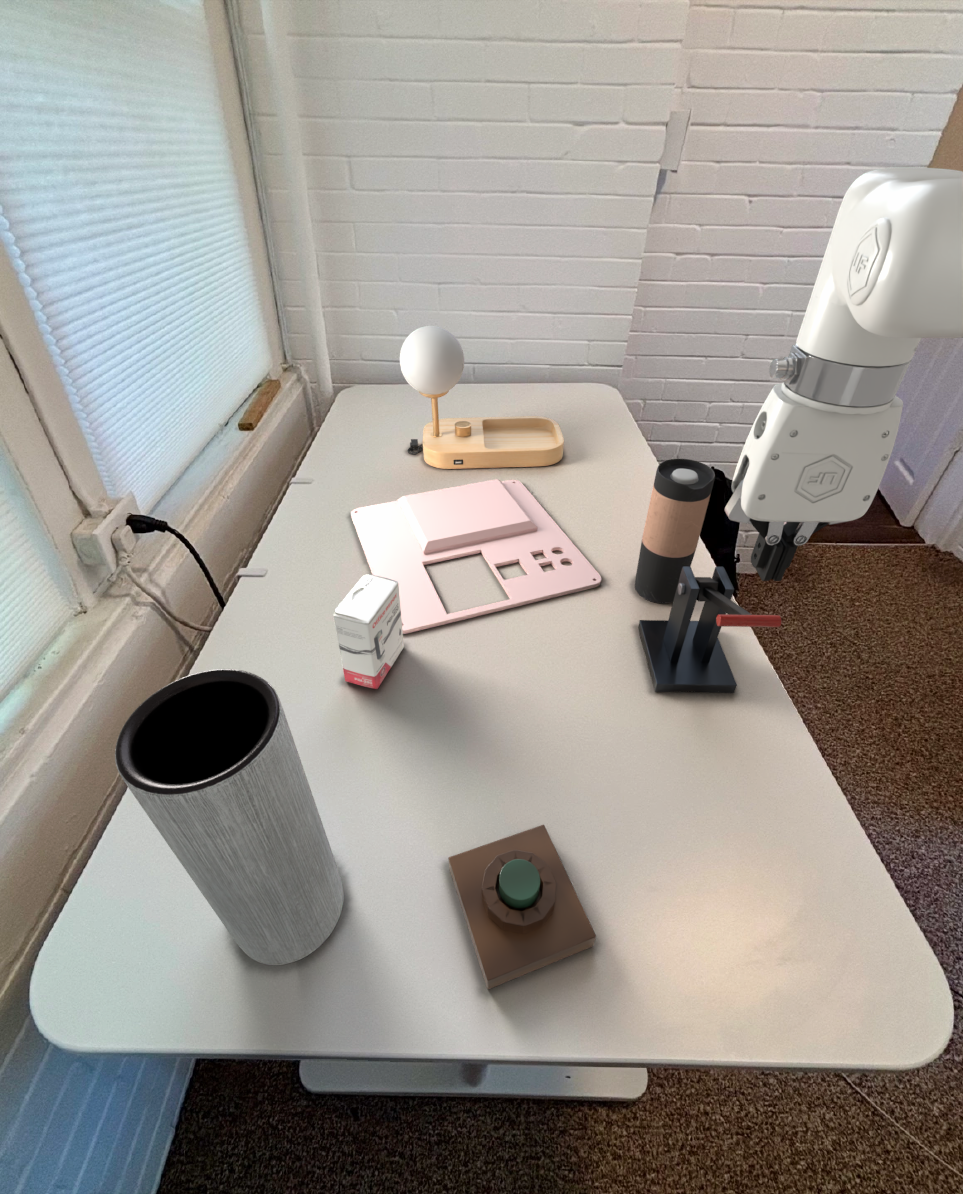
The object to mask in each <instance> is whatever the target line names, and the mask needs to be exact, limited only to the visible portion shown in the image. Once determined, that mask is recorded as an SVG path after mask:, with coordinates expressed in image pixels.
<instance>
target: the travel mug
mask: <svg viewBox="0 0 963 1194" xmlns="http://www.w3.org/2000/svg"><path fill="white" fill-rule="evenodd" d="M658 464H659V465H658V466H657V467H656V472H655V476H654V481H653V486H652V490H651V493H650V494H651V495H650V500H649V504H648V507H647V508H648V509H647V513H646V518H645V523H644V527H643V533H642V535H641V543H640V548H639V549H640V550H639V553H638V560H637V567H636V572H635V573H636V574H635V578H634V579H635V580H634V588H635V592H636V593H637V594H638V595H639V596H640V597H641V598H643V599H644V600H645V601H648V602H652V603H655V604H671V603H673V601H674V597H675V593H676V589H677V586H678V582H679V578H680V574H681V571H682V567H683V566H685V567H691V568H692V564H693V561H694V557H695V554H696V552H697V548H698V543H699V540H700V536H701V532H702V528H703V525H704V521H705V518H706V514H707V509H708V506H709V502H710V498H711V496H712V495H711V494H712V490H713V487H714V483H715V479H716V474H715V471H714V469H713V468H712V467H710V466H709V465H708V464H706V463H703V462H700V461H698V460H694V459H688V458H671V459H667V460H664V461H662V462H660V463H658Z"/></svg>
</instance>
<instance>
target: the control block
mask: <svg viewBox="0 0 963 1194" xmlns="http://www.w3.org/2000/svg"><path fill="white" fill-rule="evenodd" d="M515 859H523V860H526V861H528V862H530V863H532V864H533V865H534V866H535V867H536V869H537V870H538V872H539V875H540V889H539V895H538V897H537V899H536V901H535V902H534V903H533V904H532V905H531V906H529V907H526V908H522V909H519V908H514V907H511V906H509V905H508V904H507V903H506V902H505V901H504V900H503V899H502V897H501V895H500V892H499V875H500V872H501V870H502V868H503V866H504V865H505V864H506V863H508V862H509V861H512V860H515ZM448 869H449V872H450V875H451V879H452V882H453V885H454V889H455V891H456V894H457V897H458V901H459V904H460V907H461V910H462V914H463V916H464V920H465V924H466V926H467V929H468V933H469V936H470V939H471V942H472V946H473V948H474V951H475V955H476V958H477V961H478V965H479V967H480V971H481V974H482V977H483V980H484V983H485V986H486V989H487V990H491V989H493V988H495V987H498V986H500V985H502V984H505V983H508V982H509V981H512V980H515V979H517V978H519V977H522V976H525V975H526V974H530V973H532V972H535V971H536V970H539V969H541V968H544V967H546V966H549V965H551V964H553V963H556V962H559V961H561V960H564V959H566V958H568V957H570V956H573V955H576V954H578V953H580V952H583V951H585V950H587V949H590V948H593V947H594V945H595V941H596V938H597V935H596V933H595V931H594V929H593V927H592V924H591V922H590V919H589V918H588V916H587V914H586V911H585V909H584V907H583V905H582V903H581V901H580V898H579V896H578V895H577V892H576V890H575V888H574V885H573V884H572V881H571V879H570V876H569V874H568V873H567V871H566V868H565V867H564V864H563V862H562V859H561V858H560V856H559V853H558V851H557V849H556V847H555V844H554V842H553V841H552V838H551V836H550V834H549V832H548V830H547V828H546V826H545V824H541V825H538V826H535V827H532V828H529V829H527V830H523V831H521V832H518V833H515V834H513V835H508V836H507V837H503V838H501V839H497V840H494V841H491V842H489V843H486V844H483V845H480V846H477V847H474V848H471V849H469V850H466V851H463V852H460V853H457V854H453V855H452V856H451V855H450V856H449V857H448Z"/></svg>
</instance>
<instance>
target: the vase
mask: <svg viewBox="0 0 963 1194" xmlns="http://www.w3.org/2000/svg"><path fill="white" fill-rule="evenodd" d="M114 751H115V752H114V761H115V767H116V769H117V772H118V774H119V775H120V778H121V779H122V781H123V782H124V784H125V785H126V786H127V788H128V789H129V791H130V792H131V794H132V795H133V796H134V798H135V799H136V801H137V802H138V804H139V805H140V807H141V808H142V809H143V811H144V812H145V814H146V816H147V817H148V818H149V820H150V821H151V822H152V824H153V826H154V827H155V828H156V830H157V831H158V832H159V834H160V835H161V837H162V838H163V839H164V841H165V843H166V844H167V845H168V847H169V849H170V850H171V851H172V852H173V854H174V856H175V857H176V858H177V860H178V861H179V863H180V864H181V866H182V867H183V869H184V870H185V872H186V873H187V874H188V876H189V877H190V878H191V880H192V881H193V883H194V884H195V885H196V887H197V889H198V890H199V891H200V894H201V895H203V897H204V899H205V900H206V901H207V903H208V904H209V906H210V907H211V909H212V910H213V912H214V913H215V914H216V916H217V917H218V919H219V920H220V922H221V923H222V924H223V926H224V927H225V929H226V930H227V932H228V933H229V934H230V936H231V937H232V939H233V941H234V942H235V943H236V944H237V946H238V947H239V948H240V949H241V950H242V952H244V954H245V955H247V956H248V957H249V958H250V959H252V960H253V961H255V962H258V963H260V964H263V965H267V966H268V965H269V966H283V965H288V964H293V963H295V962H297V961H300V960H302V959H304V958H305V957H308V956H309V955H311V954H313V953H314V952H315V951H316V950H317V949H319V948H320V947H321V946H322V944H324V943H325V941H326V940H327V939H328V938H329V937H330V935H331V934H332V933H333V931H334V929H335V927H336V926H337V924H338V922H339V919H340V917H341V914H342V910H343V906H344V894H345V893H344V886H343V882H342V881H343V880H342V877H341V874H340V871H339V868H338V865H337V861H336V859H335V856H334V853H333V851H332V850H333V849H332V848H331V845H330V842H329V838H328V836H327V833H326V830H325V827H324V824H323V821H322V818H321V816H320V812H319V809H318V806H317V804H316V801H315V797H314V796H313V792H312V789H311V786H310V784H309V780H308V777H307V775H306V772H305V769H304V766H303V763H302V760H301V757H300V753H299V751H298V748H297V746H296V743H295V740H294V736H293V734H292V731H291V728H290V725H289V722H288V719H287V716H286V713H285V710H284V708H283V705H282V702H281V699H280V696H279V694H278V693H277V690H276V689H275V688H274V687H273V686H272V685H271V684H270V682H268V681H267V680H266V679H265V678H263V677H262V676H260V675H258V674H255V673H254V672H250V671H246V670H241V669H234V668H218V669H216V668H215V669H209V670H203V671H199V672H196V673H192V674H189V675H186V676H184V677H181V678H178V679H177V680H174V681H172V682H170V683H168V684H167V685H165V686H163V687H161V688H160V689H158V690H157V691H155V692H154V693H152V694H151V695H150V696H149V697H147V698H146V699H145V700H144V701H142V702H141V704H139V705H138V706H137V708H135V710H134V711H133V712H132V713H131V714H130V715H129V717H128V718H127V720H126V721H125V723H124V724H123V725H122V727H121V730H120V732H119V734H118V737H117V740H116V744H115V748H114Z"/></svg>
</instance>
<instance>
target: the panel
mask: <svg viewBox="0 0 963 1194" xmlns="http://www.w3.org/2000/svg"><path fill="white" fill-rule="evenodd" d="M350 517H351V520H352V522H353V525H354V528H355V530H356V533H357V537H358V539H359V541H360V544H361V547H362V550H363V553H364V556H365V558H366V561H367V564H368V566H369V569H370V572H371V575H376V576H380V577H385V578H388V579H392V580H395V581H398V585H399V597H400V608H401V619H402V630H403V635H407V634H411V633H415V632H418V631H424V630H426V629H431V628H435V627H441V626H445V625H448V624H452V623H455V622H461V621H465V620H467V619H472V618H476V617H481V616H484V615H488V614H492V613H496V612H500V611H504V610H508V609H513V608H517V607H521V606H525V605H529V604H533V603H537V602H542V601H545V600H550V599H554V598H557V597H561V596H566V595H570V594H574V593H578V592H582V591H586V590H590V589H594V588H597V587H599V586H600V585H601V583H602V577H601V576H602V575H600V573H599V572H598V571H597V570H596V569H595V567H594V566H593V565H592V564H591V562H589V560H588V559H587V558H586V556H584V554H583V553H582V552H581V551H580V550H579V548H578V547H577V546H576V544H574V542H572V540H571V539H570V538H569V537H568V536H567V534H566V533H565V532H564V530H563V529H561V527H560V526H559V525H558V524H557V523H556V521H555V519H553V518H552V516H550V514H549V513H548V512H547V511H546V509H545V508H544V507H543V506H542V505H541V504H540V503H539V501H538V500H537V499H536V498H535V497H534V495H533V494H532V493H531V492H530V491H529V490H528V488H527V487H526V486H525V485H524V484H523V483H522V482H521V481H520V480H519V479H506V480H501V479H499V478H494V479H488V480H483V481H479V482H478V481H477V482H471V483H468V484H467V483H466V484H461V485H456V486H451V487H444V488H439V489H435V490H428V491H424V492H419V493H412V494H407V495H402V496H401V497H399V498H397V500H393V501H392V500H391V501H387V502H381V503H376V504H370V505H367V506H360V507H359V506H358V507H356V508H354V509H352V510H351V511H350ZM554 551H559V552H561V553H560V554H559V553H555V552H554ZM476 554H481V555H482V557H483V558H484V560H485V562H486V563H487V565H488V566H489V568H490V570H491V571H492V573H493V574H494V576H495V578H496V579H497V581H498V583H499V584H500V586H501V587H502V589H503V590H504V592H505V594H506V595H507V597H508V599H504V600H500V601H496V602H492V603H487V604H483V605H479V606H475V607H470V608H467V609H463V610H459V611H454V612H450V613H448V612H447V611H446V609H445V607H444V605H443V603H442V600H441V599H440V596H439V595H438V593H437V590H436V588H435V586H434V584H433V582H432V580H431V578H430V576H429V574H428V572H427V569H426V568H425V566H427V565H432V564H436V563H439V562H444V561H449V560H454V559H457V558H464V557H467V556H472V555H476ZM539 554H543V555H544V557H543V558H539V559H536V558H535V557H534V556H535V555H539ZM564 562H568V563H571V564H570V565H565V564H562V563H564ZM516 563H518V564H519V565H520V567H521V568H522V569H523V571H524V572H525V574H523V575H519V576H515V577H514V576H513V577H510V578H506V579H504V578H503V577H502V575H501V573H500V572H499V570H498V569H497V567H504V566H507V565H512V564H516ZM548 565H551V566H552V568H554V569H551V570H547V571H544V570H543V568H542V567H544V566H548Z"/></svg>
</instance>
